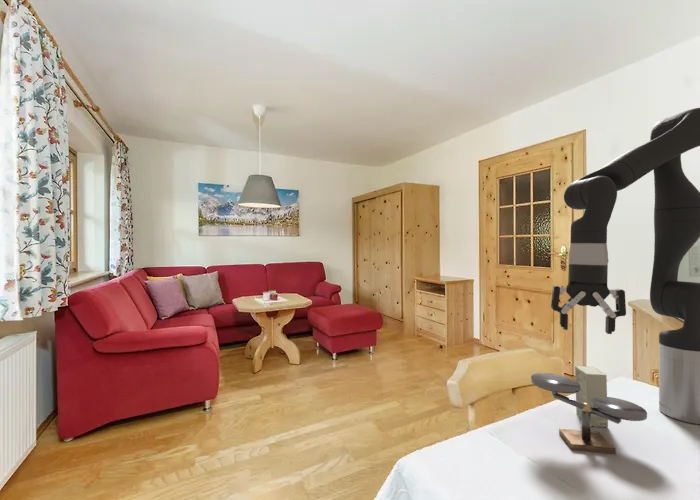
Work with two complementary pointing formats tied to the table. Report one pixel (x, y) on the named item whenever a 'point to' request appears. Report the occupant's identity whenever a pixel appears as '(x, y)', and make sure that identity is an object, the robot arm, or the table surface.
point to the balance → (588, 413)
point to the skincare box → (591, 390)
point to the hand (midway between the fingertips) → (586, 331)
